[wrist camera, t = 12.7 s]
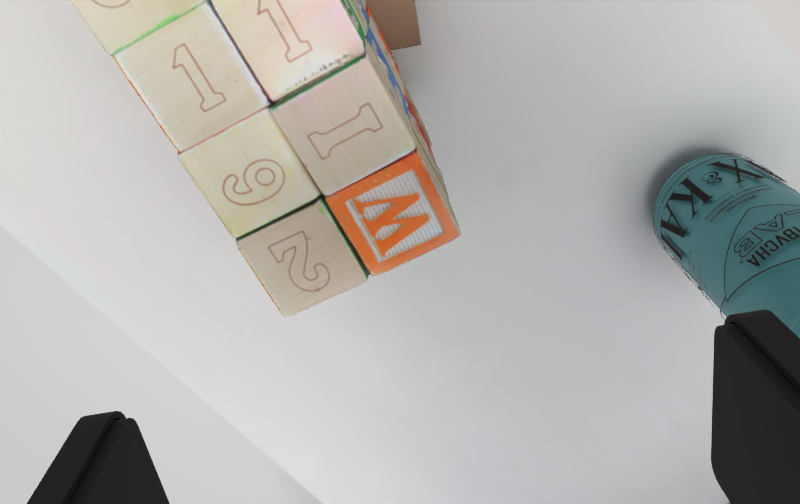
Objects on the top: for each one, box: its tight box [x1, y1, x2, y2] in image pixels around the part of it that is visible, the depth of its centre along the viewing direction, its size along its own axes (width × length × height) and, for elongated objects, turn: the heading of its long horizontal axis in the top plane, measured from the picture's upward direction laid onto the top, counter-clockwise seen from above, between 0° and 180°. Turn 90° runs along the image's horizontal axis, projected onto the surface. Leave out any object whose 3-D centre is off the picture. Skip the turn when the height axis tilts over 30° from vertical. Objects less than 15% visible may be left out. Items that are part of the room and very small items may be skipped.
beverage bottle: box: [654, 153, 800, 338], centre depth 30 cm, size 6×7×20 cm
